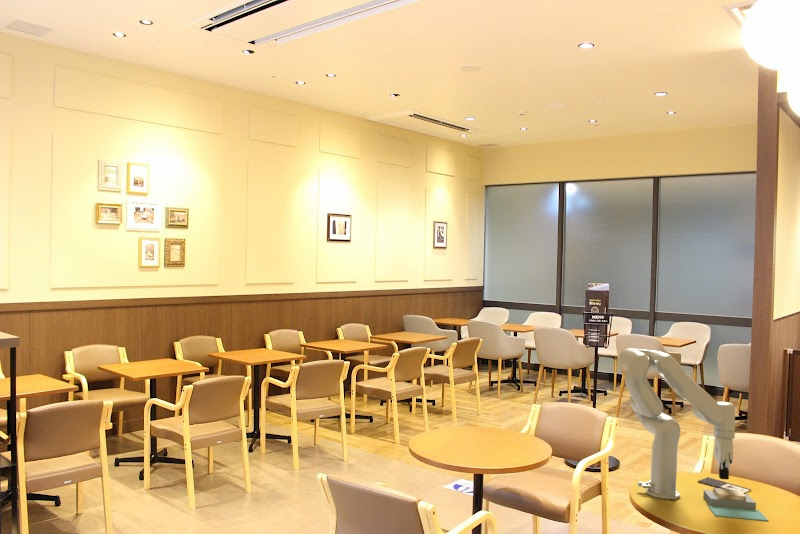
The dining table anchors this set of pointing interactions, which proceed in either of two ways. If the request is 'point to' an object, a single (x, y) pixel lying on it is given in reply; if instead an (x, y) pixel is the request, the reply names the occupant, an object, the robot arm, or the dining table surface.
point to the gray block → (729, 501)
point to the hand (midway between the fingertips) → (723, 478)
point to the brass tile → (729, 494)
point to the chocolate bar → (722, 484)
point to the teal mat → (737, 513)
